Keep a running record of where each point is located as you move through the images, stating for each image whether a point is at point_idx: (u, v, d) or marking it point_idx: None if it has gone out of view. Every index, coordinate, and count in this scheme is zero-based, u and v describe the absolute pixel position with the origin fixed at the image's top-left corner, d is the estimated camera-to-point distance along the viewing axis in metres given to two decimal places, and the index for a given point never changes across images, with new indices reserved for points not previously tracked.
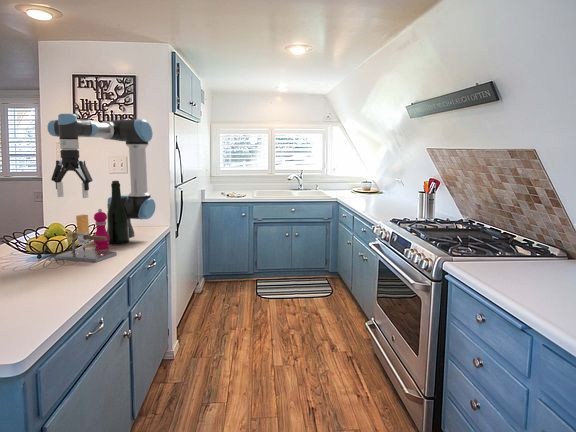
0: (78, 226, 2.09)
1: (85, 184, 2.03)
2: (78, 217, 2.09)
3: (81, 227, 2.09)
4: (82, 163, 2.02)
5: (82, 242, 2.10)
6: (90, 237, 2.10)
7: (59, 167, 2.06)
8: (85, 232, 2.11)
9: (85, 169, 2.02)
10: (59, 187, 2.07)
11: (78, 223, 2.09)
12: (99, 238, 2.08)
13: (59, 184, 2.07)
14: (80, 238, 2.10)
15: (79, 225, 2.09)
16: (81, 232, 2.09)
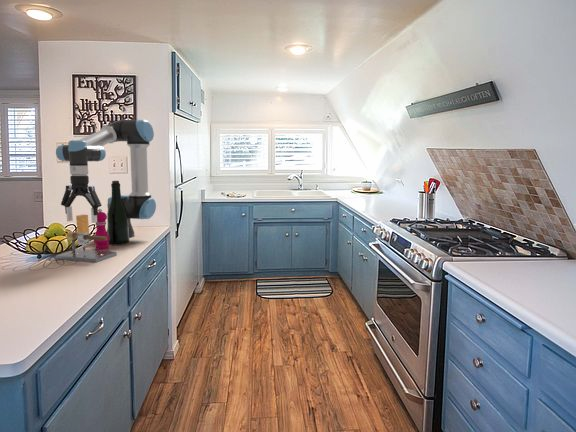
0: (78, 226, 2.09)
1: (94, 209, 2.07)
2: (78, 217, 2.09)
3: (81, 227, 2.09)
4: (91, 188, 2.06)
5: (82, 242, 2.10)
6: (90, 237, 2.10)
7: (69, 192, 2.10)
8: (85, 232, 2.11)
9: (94, 194, 2.06)
10: (68, 211, 2.11)
11: (78, 223, 2.09)
12: (99, 238, 2.08)
13: (68, 208, 2.11)
14: (80, 238, 2.10)
15: (79, 225, 2.09)
16: (81, 232, 2.09)
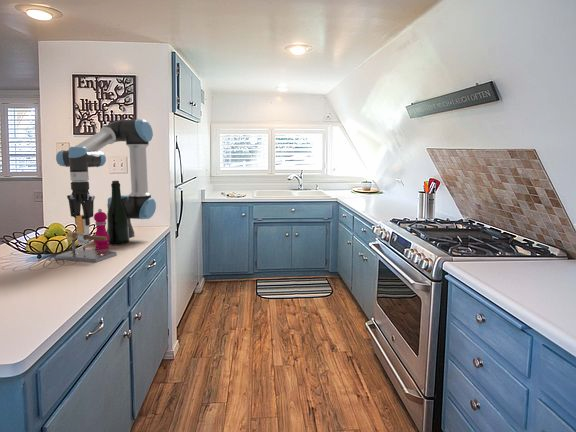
0: (78, 226, 2.09)
1: (86, 219, 2.09)
2: (78, 217, 2.09)
3: (81, 227, 2.09)
4: (91, 199, 2.07)
5: (82, 242, 2.10)
6: (90, 237, 2.10)
7: (72, 201, 2.11)
8: None
9: (91, 205, 2.08)
10: None
11: (78, 223, 2.09)
12: (99, 238, 2.08)
13: None
14: (80, 238, 2.10)
15: (79, 225, 2.09)
16: (81, 232, 2.09)
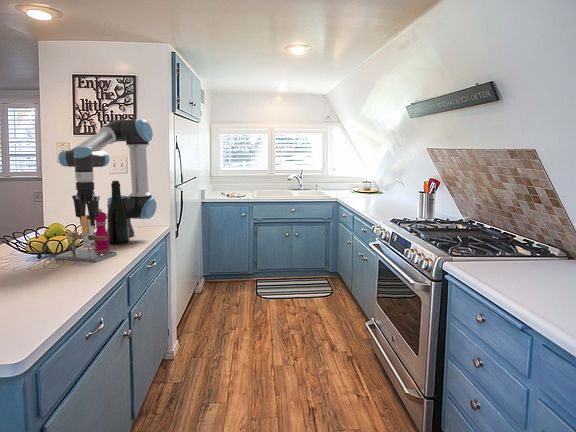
0: (83, 226, 2.09)
1: (91, 220, 2.08)
2: (83, 217, 2.08)
3: (86, 228, 2.08)
4: (96, 199, 2.06)
5: (87, 242, 2.09)
6: (90, 237, 2.10)
7: (77, 201, 2.10)
8: None
9: (96, 205, 2.07)
10: None
11: (83, 223, 2.08)
12: (99, 238, 2.08)
13: None
14: (85, 239, 2.09)
15: (84, 225, 2.08)
16: (86, 232, 2.09)
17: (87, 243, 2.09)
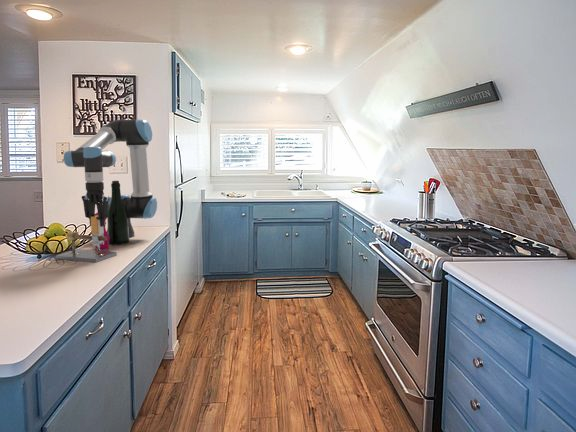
0: (93, 227, 2.07)
1: (101, 220, 2.07)
2: (93, 218, 2.06)
3: (95, 228, 2.07)
4: (106, 200, 2.05)
5: (97, 243, 2.08)
6: (90, 237, 2.10)
7: (87, 201, 2.08)
8: None
9: (106, 205, 2.06)
10: None
11: (93, 224, 2.07)
12: (99, 238, 2.08)
13: None
14: (94, 239, 2.08)
15: (93, 226, 2.07)
16: (96, 233, 2.07)
17: (97, 244, 2.08)
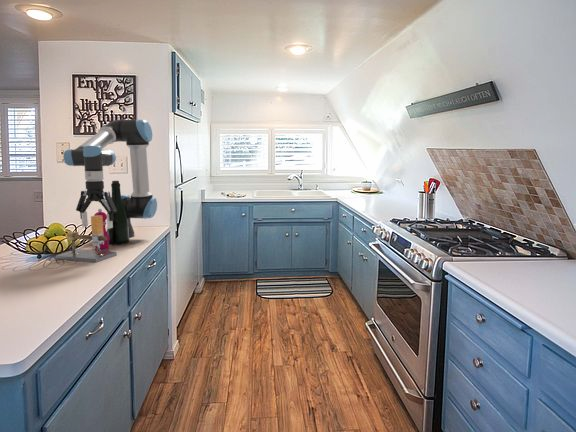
0: (93, 227, 2.07)
1: (110, 215, 2.05)
2: (93, 218, 2.06)
3: (95, 228, 2.07)
4: (107, 194, 2.04)
5: (97, 243, 2.08)
6: (90, 237, 2.10)
7: (84, 197, 2.09)
8: (100, 233, 2.09)
9: (110, 200, 2.05)
10: (84, 217, 2.10)
11: (93, 224, 2.07)
12: (99, 238, 2.08)
13: (84, 214, 2.09)
14: (94, 239, 2.08)
15: (93, 226, 2.07)
16: (96, 233, 2.07)
17: (97, 244, 2.08)
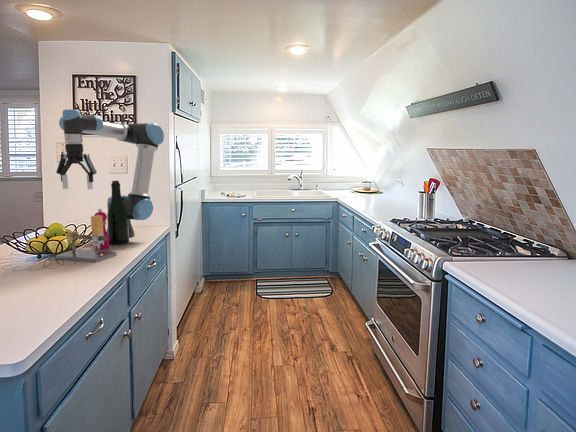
0: (93, 227, 2.07)
1: (90, 176, 2.15)
2: (93, 218, 2.06)
3: (95, 228, 2.07)
4: (86, 156, 2.13)
5: (97, 243, 2.08)
6: (90, 237, 2.10)
7: (64, 160, 2.17)
8: (100, 233, 2.09)
9: (89, 162, 2.14)
10: (64, 179, 2.18)
11: (93, 224, 2.07)
12: (99, 238, 2.08)
13: (64, 176, 2.18)
14: (94, 239, 2.08)
15: (93, 226, 2.07)
16: (96, 233, 2.07)
17: (97, 244, 2.08)
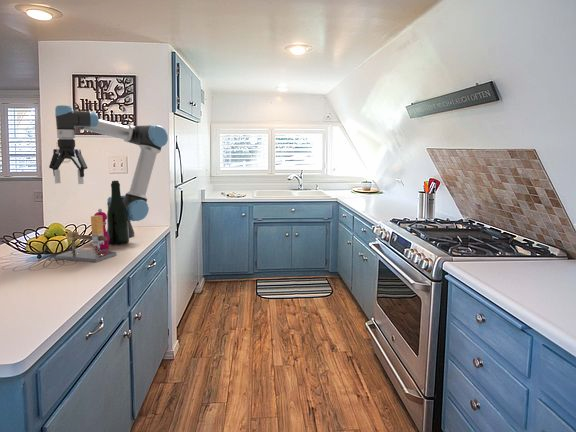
0: (93, 227, 2.07)
1: (80, 171, 2.18)
2: (93, 218, 2.06)
3: (95, 228, 2.07)
4: (78, 151, 2.17)
5: (97, 243, 2.08)
6: (90, 237, 2.10)
7: (56, 155, 2.22)
8: (100, 233, 2.09)
9: (80, 157, 2.18)
10: (56, 174, 2.23)
11: (93, 224, 2.07)
12: (99, 238, 2.08)
13: (56, 171, 2.23)
14: (94, 239, 2.08)
15: (93, 226, 2.07)
16: (96, 233, 2.07)
17: (97, 244, 2.08)
